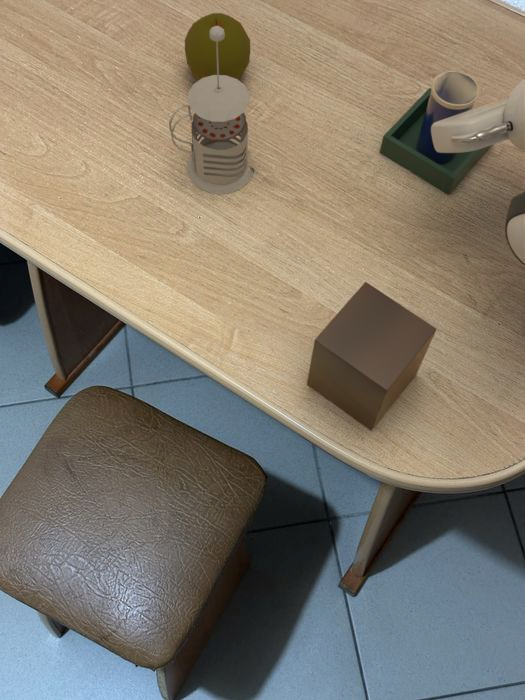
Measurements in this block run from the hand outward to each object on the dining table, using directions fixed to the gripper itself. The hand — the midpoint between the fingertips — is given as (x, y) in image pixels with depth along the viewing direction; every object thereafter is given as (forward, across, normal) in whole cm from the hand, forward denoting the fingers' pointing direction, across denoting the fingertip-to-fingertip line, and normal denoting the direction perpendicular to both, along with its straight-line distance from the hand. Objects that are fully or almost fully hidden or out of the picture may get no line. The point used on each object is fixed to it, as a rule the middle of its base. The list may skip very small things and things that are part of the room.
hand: (478, 114), depth 109 cm
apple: (+32, -23, +13) cm, 42 cm away
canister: (+13, 0, -5) cm, 14 cm away
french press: (+21, -31, +1) cm, 37 cm away
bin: (+14, 0, -6) cm, 15 cm away
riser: (-7, -27, -26) cm, 38 cm away
